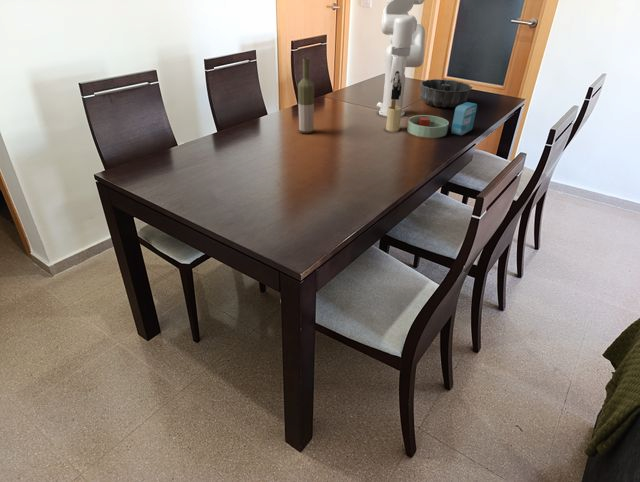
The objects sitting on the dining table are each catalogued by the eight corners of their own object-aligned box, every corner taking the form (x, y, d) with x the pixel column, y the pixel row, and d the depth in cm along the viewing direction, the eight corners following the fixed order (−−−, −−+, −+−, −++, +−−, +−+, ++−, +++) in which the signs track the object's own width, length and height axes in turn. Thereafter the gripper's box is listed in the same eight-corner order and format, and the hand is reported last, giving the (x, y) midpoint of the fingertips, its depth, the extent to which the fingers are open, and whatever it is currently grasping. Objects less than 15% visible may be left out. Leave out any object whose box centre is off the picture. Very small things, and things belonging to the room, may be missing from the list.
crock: (383, 130, 190) (385, 107, 185) (390, 127, 193) (393, 105, 188) (393, 133, 187) (396, 110, 181) (401, 130, 190) (404, 107, 185)
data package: (460, 136, 184) (465, 108, 177) (450, 134, 186) (455, 106, 180) (472, 130, 191) (477, 103, 185) (462, 128, 194) (468, 101, 187)
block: (420, 128, 191) (421, 119, 189) (418, 126, 194) (419, 117, 192) (428, 128, 191) (430, 119, 189) (426, 126, 194) (428, 117, 192)
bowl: (399, 132, 188) (400, 120, 186) (420, 123, 199) (422, 112, 196) (433, 141, 178) (435, 130, 176) (454, 132, 189) (456, 121, 186)
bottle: (317, 131, 187) (318, 58, 171) (306, 135, 183) (305, 60, 166) (306, 128, 191) (305, 56, 175) (294, 131, 187) (293, 58, 170)
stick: (389, 129, 189) (392, 92, 181) (389, 128, 191) (392, 91, 182) (393, 129, 189) (396, 92, 180) (393, 128, 190) (396, 91, 182)
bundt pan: (474, 102, 231) (478, 83, 226) (459, 114, 212) (463, 93, 207) (427, 95, 243) (430, 76, 237) (409, 105, 224) (412, 85, 219)
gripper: (393, 47, 180) (389, 91, 190) (388, 54, 166) (384, 101, 176) (411, 48, 179) (406, 93, 188) (408, 55, 165) (402, 103, 174)
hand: (395, 96), depth 182 cm, fingers open, 6 cm apart
